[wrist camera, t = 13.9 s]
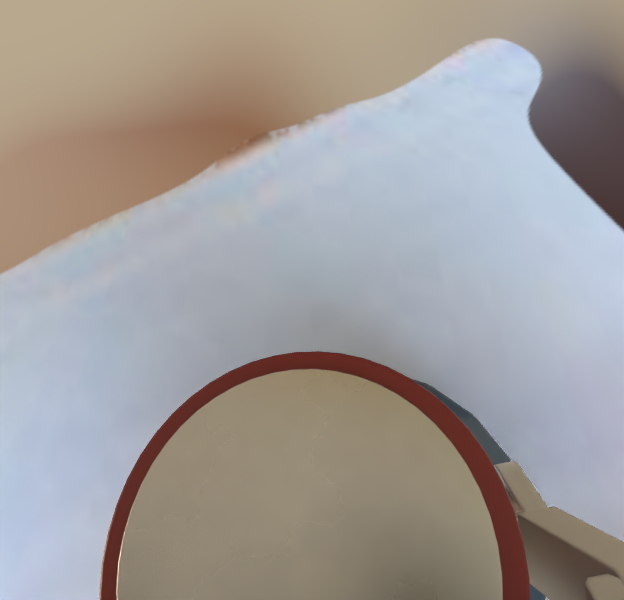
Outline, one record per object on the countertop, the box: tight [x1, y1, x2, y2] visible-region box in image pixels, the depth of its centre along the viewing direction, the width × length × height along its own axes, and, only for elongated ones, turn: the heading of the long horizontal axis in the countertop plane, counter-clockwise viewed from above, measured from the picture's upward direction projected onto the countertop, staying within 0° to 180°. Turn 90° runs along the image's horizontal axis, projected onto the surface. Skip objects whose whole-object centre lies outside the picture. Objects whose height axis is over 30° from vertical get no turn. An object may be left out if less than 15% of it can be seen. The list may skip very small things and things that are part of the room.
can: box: [100, 351, 530, 600], centre depth 12 cm, size 6×6×12 cm
